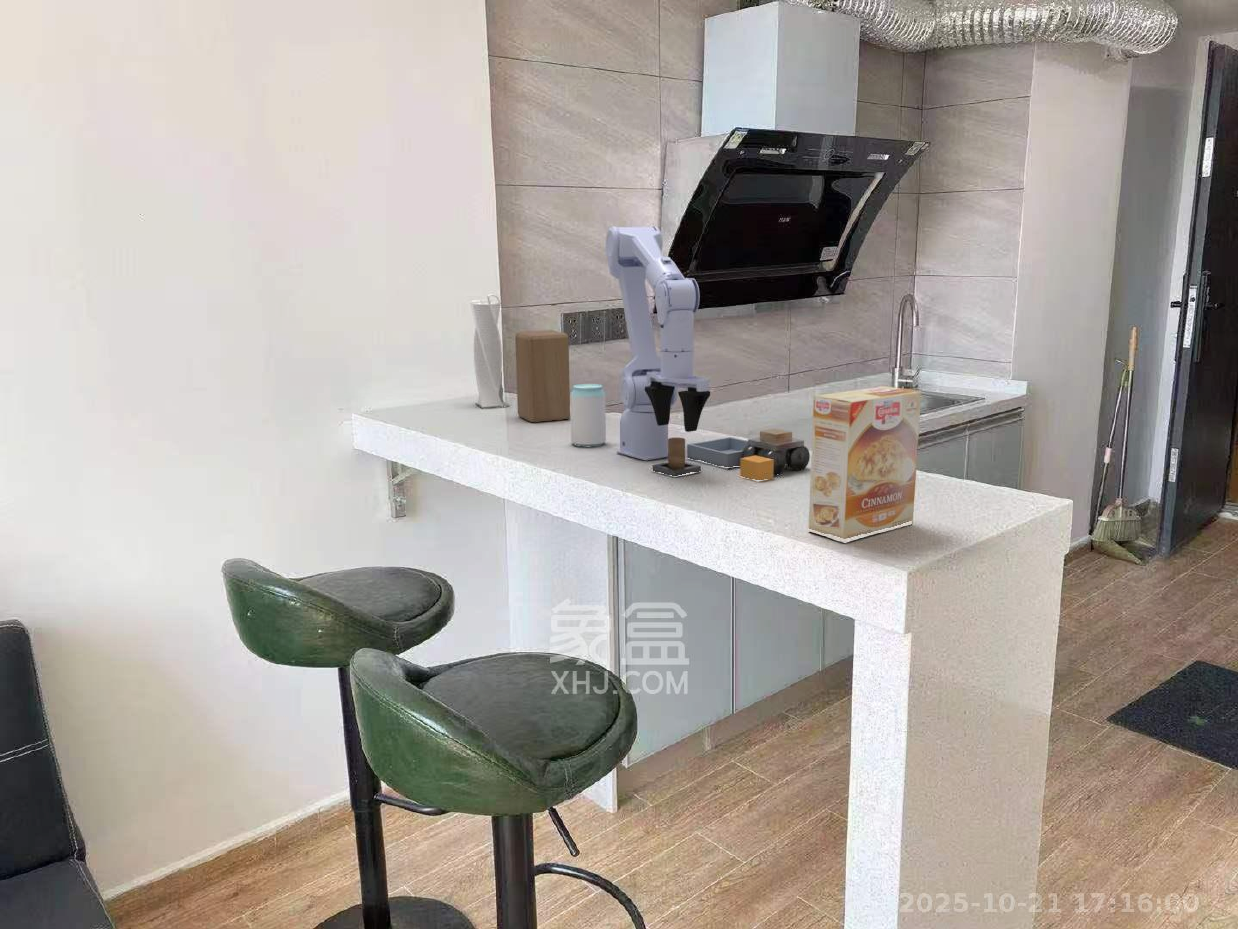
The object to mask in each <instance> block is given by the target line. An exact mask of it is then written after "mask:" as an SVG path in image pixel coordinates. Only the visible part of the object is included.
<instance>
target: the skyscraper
mask: <svg viewBox="0 0 1238 929" xmlns="http://www.w3.org/2000/svg"><path fill="white" fill-rule="evenodd" d="M486 297H487V299H474V300H471V302H470V306H471V307H470V308H471V311H472V315H473V319H474V320H473V321H474V324H475V328H474V329H475V330H474V338H473V361H474V362H473V363H474V370H475V371H474V373H475V378H476V384H477V390H478V391H477V392H478V395H479V396H478V399H477V402H476V403H475V405H476V406H477V405H479V406H480V407H481V408H480V407H479V406H478V407H479V408H480V409H482V408H488V409H491V408H490V407H502V406H510V407H511V405H510V404H508V403H506V402H505V401H504V388H503V371H502V367H503V361H502V360H503V357H502V356H503V354H502V350H503V349H502V343H501V336H500V332H499V328H498V321H499V317H500V308H501V301H500V298H499V297H498V295H496V294H494V293H489V294H488V295H487V296H486ZM490 297H495V298H496V299H497V301H498V302H493V301H492V299H490ZM502 408H503V407H502Z"/></svg>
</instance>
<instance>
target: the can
mask: <svg viewBox="0 0 1238 929" xmlns="http://www.w3.org/2000/svg"><path fill="white" fill-rule="evenodd" d="M572 388H573V389H572V391H570V437H571V438H570V441H571V443H572V444H574V445H575V444H576V445H580V446H597V447H599V446H598V445H601V444H602V445H603V444H605V443H606V441H607V427H606V426H607V425H606V424H607V418H606V417H607V416H606V408H607V406H606V403H607V402H606V392H605V391H604V389H603V385H601V384H598V383H583V384H582V383H580V384H575V385H573V387H572ZM576 445H575V446H576ZM602 445H601V446H602Z"/></svg>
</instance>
